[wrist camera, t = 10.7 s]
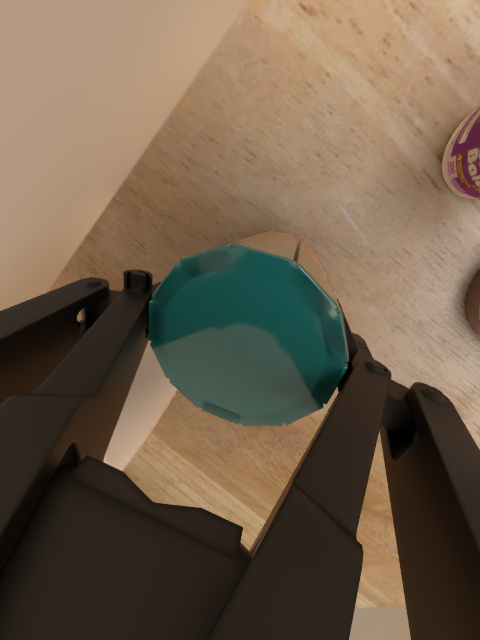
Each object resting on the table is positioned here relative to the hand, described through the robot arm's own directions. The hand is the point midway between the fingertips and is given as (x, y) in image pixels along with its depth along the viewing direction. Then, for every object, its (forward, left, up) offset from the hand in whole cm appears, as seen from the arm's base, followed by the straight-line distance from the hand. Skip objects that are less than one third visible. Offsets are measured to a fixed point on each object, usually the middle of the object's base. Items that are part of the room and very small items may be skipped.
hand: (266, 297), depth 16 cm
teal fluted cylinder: (0, 0, -2) cm, 2 cm away
